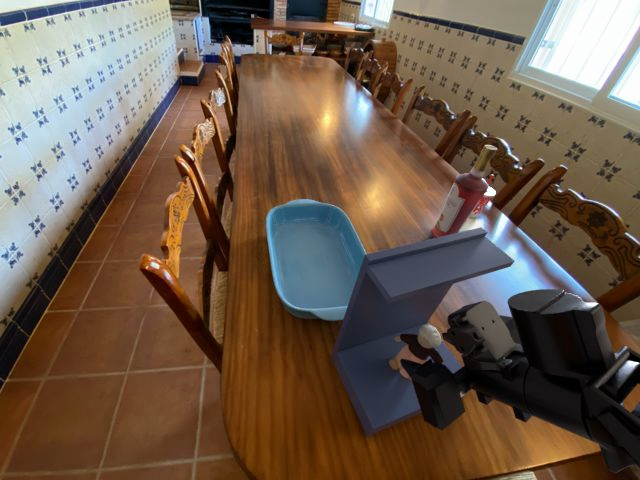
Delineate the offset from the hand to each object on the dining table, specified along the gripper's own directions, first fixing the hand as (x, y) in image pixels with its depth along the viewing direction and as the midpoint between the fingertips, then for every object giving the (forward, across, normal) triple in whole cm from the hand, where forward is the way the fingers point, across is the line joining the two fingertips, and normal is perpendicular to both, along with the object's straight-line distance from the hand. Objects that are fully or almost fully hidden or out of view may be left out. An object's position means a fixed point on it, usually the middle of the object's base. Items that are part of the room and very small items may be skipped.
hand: (423, 348), depth 46 cm
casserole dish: (+29, 0, -12) cm, 32 cm away
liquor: (+24, -39, -8) cm, 47 cm away
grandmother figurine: (+6, 0, +6) cm, 8 cm away
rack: (+9, 0, +8) cm, 12 cm away
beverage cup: (+27, -58, -11) cm, 65 cm away
